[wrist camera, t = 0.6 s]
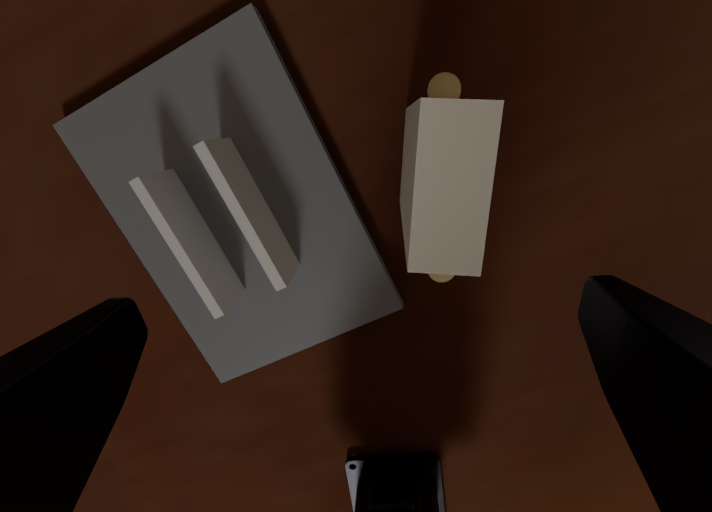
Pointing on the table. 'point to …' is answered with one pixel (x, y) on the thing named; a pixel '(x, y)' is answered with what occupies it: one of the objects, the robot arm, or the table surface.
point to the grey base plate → (232, 199)
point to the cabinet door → (448, 179)
